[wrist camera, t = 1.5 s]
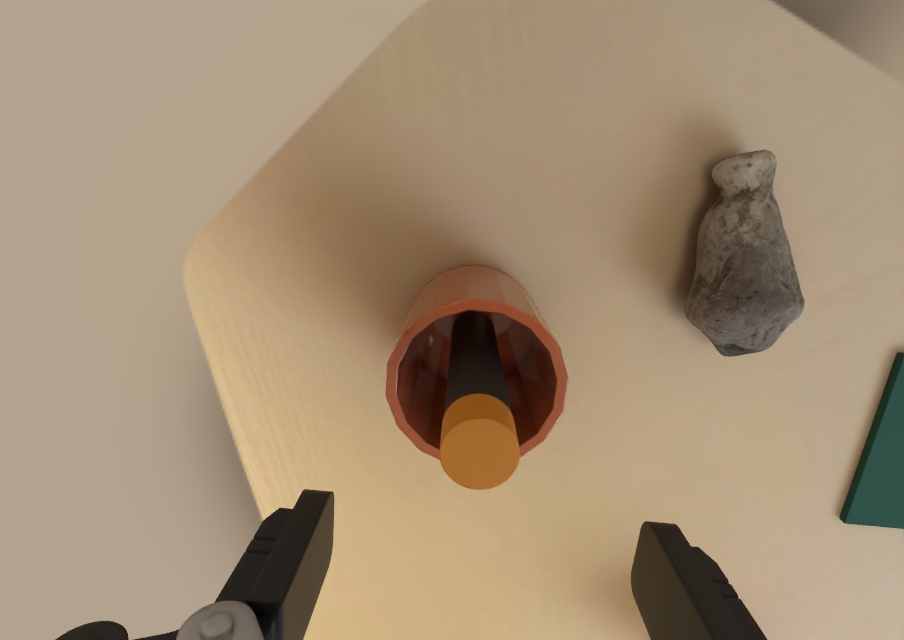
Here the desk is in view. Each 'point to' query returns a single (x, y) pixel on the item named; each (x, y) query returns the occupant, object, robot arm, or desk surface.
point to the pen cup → (520, 347)
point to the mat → (882, 463)
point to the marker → (477, 409)
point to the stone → (744, 261)
